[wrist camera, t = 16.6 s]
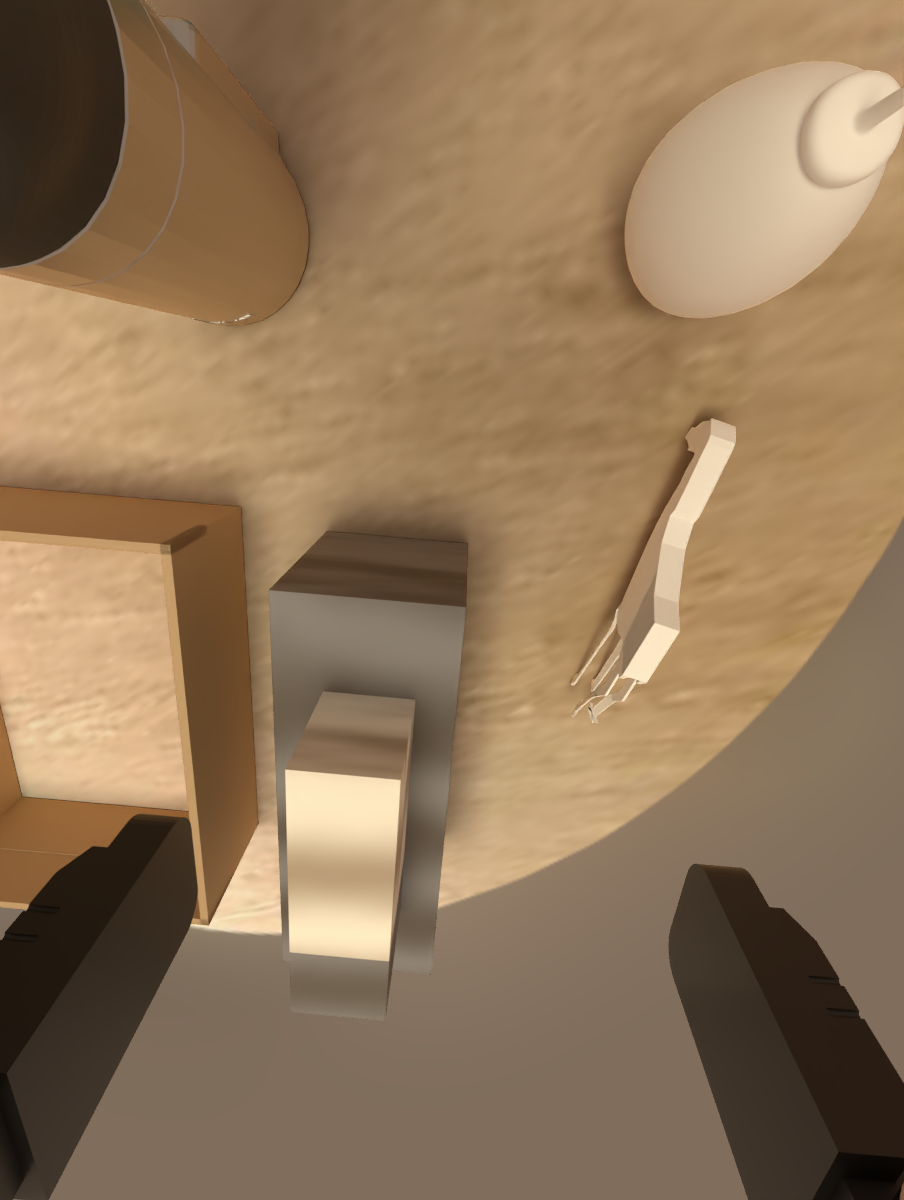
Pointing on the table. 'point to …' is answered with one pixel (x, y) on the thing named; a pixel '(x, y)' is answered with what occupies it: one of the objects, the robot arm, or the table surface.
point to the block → (347, 852)
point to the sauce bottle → (759, 186)
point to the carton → (202, 681)
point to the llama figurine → (660, 573)
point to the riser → (377, 684)
